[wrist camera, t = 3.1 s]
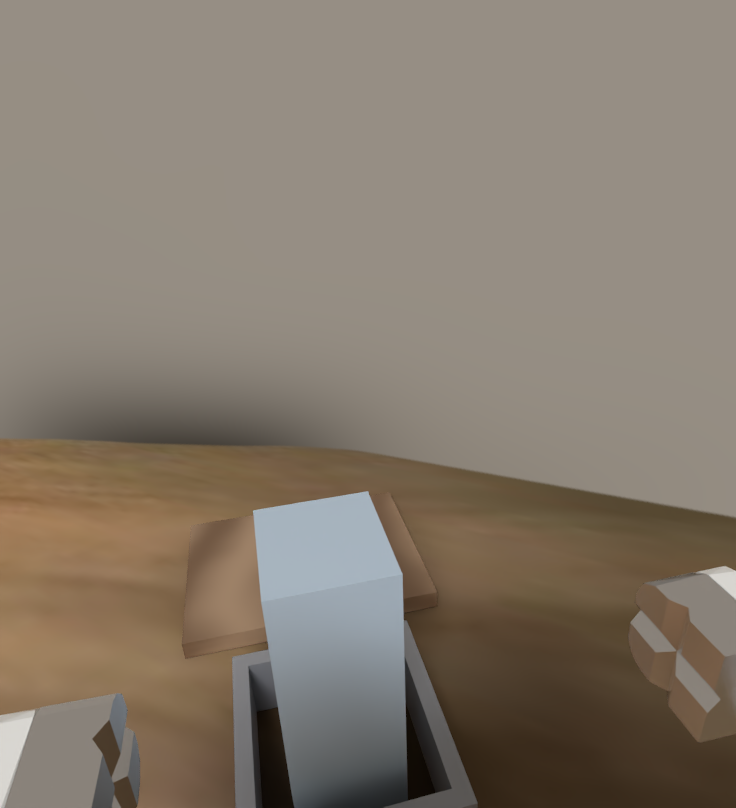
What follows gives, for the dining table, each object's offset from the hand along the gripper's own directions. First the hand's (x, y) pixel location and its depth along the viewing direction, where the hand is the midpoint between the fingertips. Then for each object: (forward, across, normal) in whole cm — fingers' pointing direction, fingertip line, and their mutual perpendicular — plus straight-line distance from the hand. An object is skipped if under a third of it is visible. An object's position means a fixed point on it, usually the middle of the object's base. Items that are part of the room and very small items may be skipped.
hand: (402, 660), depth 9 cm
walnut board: (+27, 0, +21) cm, 34 cm away
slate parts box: (+12, 0, +21) cm, 24 cm away
